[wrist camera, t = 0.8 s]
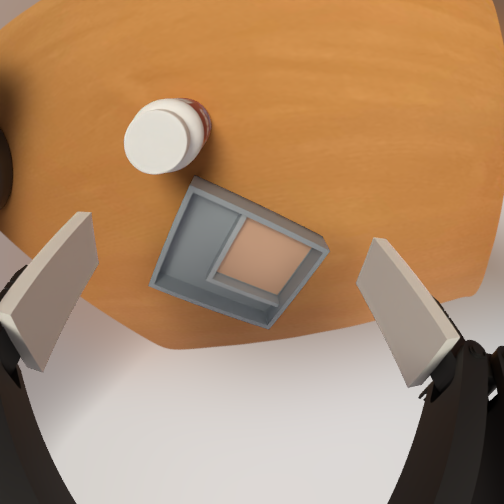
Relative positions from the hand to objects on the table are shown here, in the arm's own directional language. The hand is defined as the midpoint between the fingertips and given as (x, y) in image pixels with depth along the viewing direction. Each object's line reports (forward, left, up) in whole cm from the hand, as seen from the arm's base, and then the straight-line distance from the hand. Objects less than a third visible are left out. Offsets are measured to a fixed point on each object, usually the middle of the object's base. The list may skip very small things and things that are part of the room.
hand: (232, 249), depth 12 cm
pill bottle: (-6, +1, -20) cm, 21 cm away
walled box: (+6, -11, -19) cm, 23 cm away
